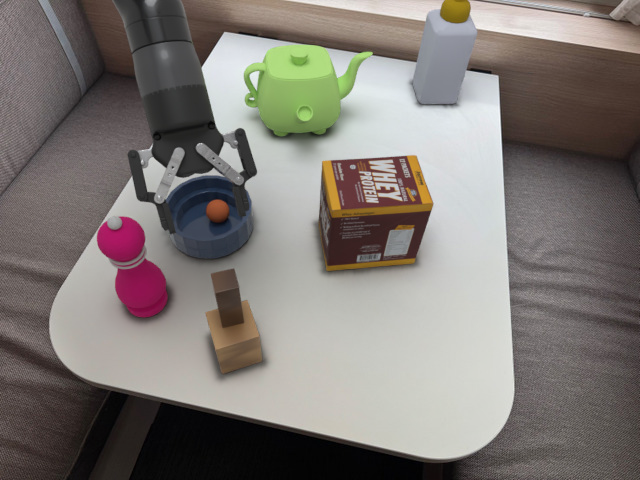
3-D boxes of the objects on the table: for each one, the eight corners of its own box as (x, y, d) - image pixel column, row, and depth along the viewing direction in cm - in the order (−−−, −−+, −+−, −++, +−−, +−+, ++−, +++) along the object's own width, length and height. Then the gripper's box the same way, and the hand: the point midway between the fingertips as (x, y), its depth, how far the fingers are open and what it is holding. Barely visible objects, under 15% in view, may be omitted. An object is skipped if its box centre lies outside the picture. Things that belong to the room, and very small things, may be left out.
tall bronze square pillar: (222, 328, 70) (214, 293, 63) (218, 309, 72) (210, 273, 65) (244, 322, 71) (239, 287, 64) (239, 304, 72) (234, 267, 65)
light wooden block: (222, 374, 74) (215, 349, 68) (212, 338, 78) (205, 311, 71) (262, 361, 76) (259, 336, 70) (250, 326, 79) (247, 299, 73)
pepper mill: (114, 297, 81) (72, 215, 65) (155, 273, 84) (124, 188, 69) (138, 329, 78) (99, 250, 62) (180, 302, 81) (153, 221, 65)
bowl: (178, 270, 85) (172, 250, 81) (162, 207, 93) (156, 186, 89) (263, 247, 89) (262, 227, 84) (240, 188, 97) (238, 167, 92)
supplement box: (316, 223, 92) (321, 159, 80) (401, 217, 94) (417, 153, 82) (325, 272, 86) (330, 210, 74) (415, 264, 88) (435, 202, 75)
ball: (232, 213, 88) (227, 193, 89) (208, 217, 87) (203, 197, 88) (231, 224, 91) (226, 205, 93) (208, 228, 90) (203, 208, 92)
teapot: (249, 166, 100) (243, 98, 88) (244, 96, 113) (239, 28, 101) (376, 158, 103) (387, 92, 90) (357, 91, 116) (365, 25, 103)
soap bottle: (457, 105, 115) (492, -7, 95) (417, 105, 114) (444, -8, 94) (448, 80, 120) (480, -31, 100) (410, 81, 119) (434, -31, 99)
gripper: (106, 95, 55) (147, 242, 58) (237, 72, 59) (270, 212, 61) (113, 106, 62) (150, 236, 65) (229, 84, 66) (259, 209, 68)
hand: (208, 224), depth 63 cm, fingers open, 8 cm apart
